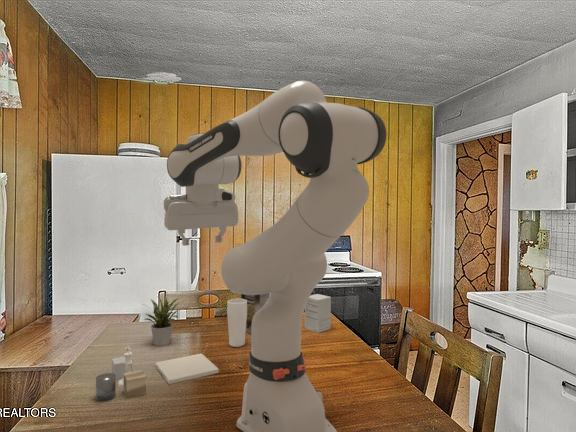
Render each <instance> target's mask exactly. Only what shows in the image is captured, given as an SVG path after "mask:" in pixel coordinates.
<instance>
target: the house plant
mask: <svg viewBox="0 0 576 432" xmlns="http://www.w3.org/2000/svg"><path fill="white" fill-rule="evenodd" d="M181 298H183V297H182V296H181V297H177V298H175V299H174V300H172V301H168V297H167V296H165V297H164V301H162V299H161V298H160V297H159V296H157V299H158V300H159V302H160V308H159V305H158V304H157V302H156V301H154V300H153V299H151V298H150V302H152V306H153V314H154V316H153V315H152V314H149V313H145V316H147V317H149V318H144V319H143V320H145V321H146V320H147V321H150V322H152V323H153V324H152V325H150V329H151V334H152V340H153V341H152V342H153V345H154V346H156V347H163V346H168V345H169V344H170V343H171V337H172V333H173V327H174V326H173V325H174V324H173V323H172V322H170V321H175V320H176V319H175V318H177V319H178V315H177V312H179V311H180V309H178V310H175V311H174V309H175V308H176V307H177V306H178V305H179V304H183V303H184V302H182V301H178V302H177V300H179V299H181ZM170 302H171V303H170ZM175 302H177V303H175ZM142 305H144V306H145V303H142ZM146 307H147V308H149V307H148V306H147V305H146ZM173 311H174V312H173ZM175 322H176V321H175Z"/></svg>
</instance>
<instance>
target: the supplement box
mask: <svg viewBox="0 0 576 432" xmlns="http://www.w3.org/2000/svg"><path fill="white" fill-rule="evenodd" d="M331 328H332V297H331V296H328V295H324V294H320V293H316V294H315V293H314V294H311V295H310V297H309V299H308V301H307V304H306V307H305V310H304V329H305V330H308V331H311V332H314V333H317V334H319V333H323V332H325V331H328V330H331Z"/></svg>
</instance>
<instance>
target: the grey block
mask: <svg viewBox="0 0 576 432" xmlns="http://www.w3.org/2000/svg"><path fill="white" fill-rule="evenodd" d="M130 360H131V361H132V363H131V364H130V369H131V372H133V360H132V358H131V359H130ZM125 361H126V359H125V356H120V357H115V358H111V373H113V374H115V375H116V381H120V380H121V379H123V378H124V373H125V371H126V364H124V362H125Z"/></svg>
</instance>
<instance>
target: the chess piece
mask: <svg viewBox="0 0 576 432" xmlns="http://www.w3.org/2000/svg"><path fill="white" fill-rule="evenodd" d="M124 351H125V353H123V355H124V356H123V357H125V359H126V361H125V362H124V364H126V371H125V373H129V372H131V369H130V364H131V363H132V364H133V360H132V355H133V353H132V348H130V345H127V346H126V347H125V348H124ZM130 359H131V360H132V361H131V360H130ZM117 386H118V387H119V388H121V389H124V378H123V379H120V380H118V382H117Z"/></svg>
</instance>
